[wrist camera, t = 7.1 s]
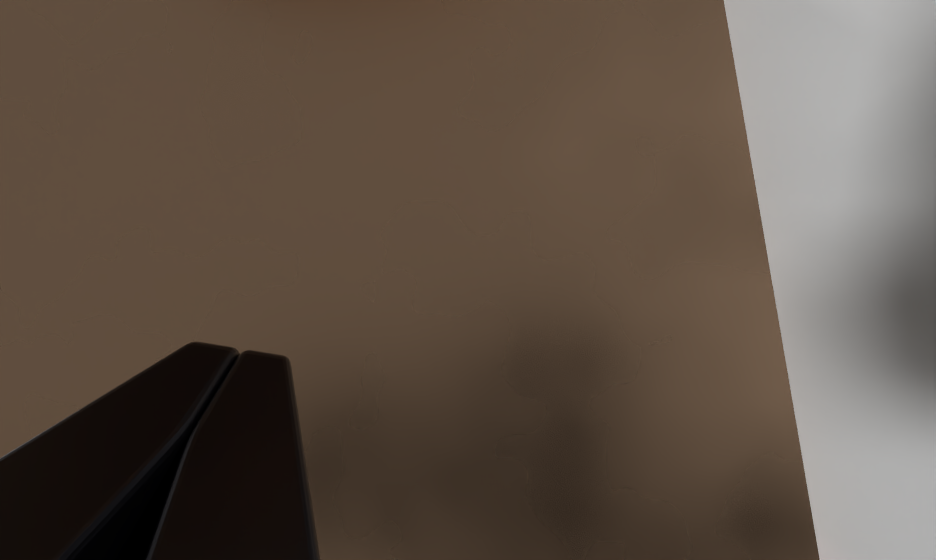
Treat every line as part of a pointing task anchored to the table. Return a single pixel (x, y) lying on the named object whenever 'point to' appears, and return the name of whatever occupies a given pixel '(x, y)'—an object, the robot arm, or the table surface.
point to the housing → (417, 259)
